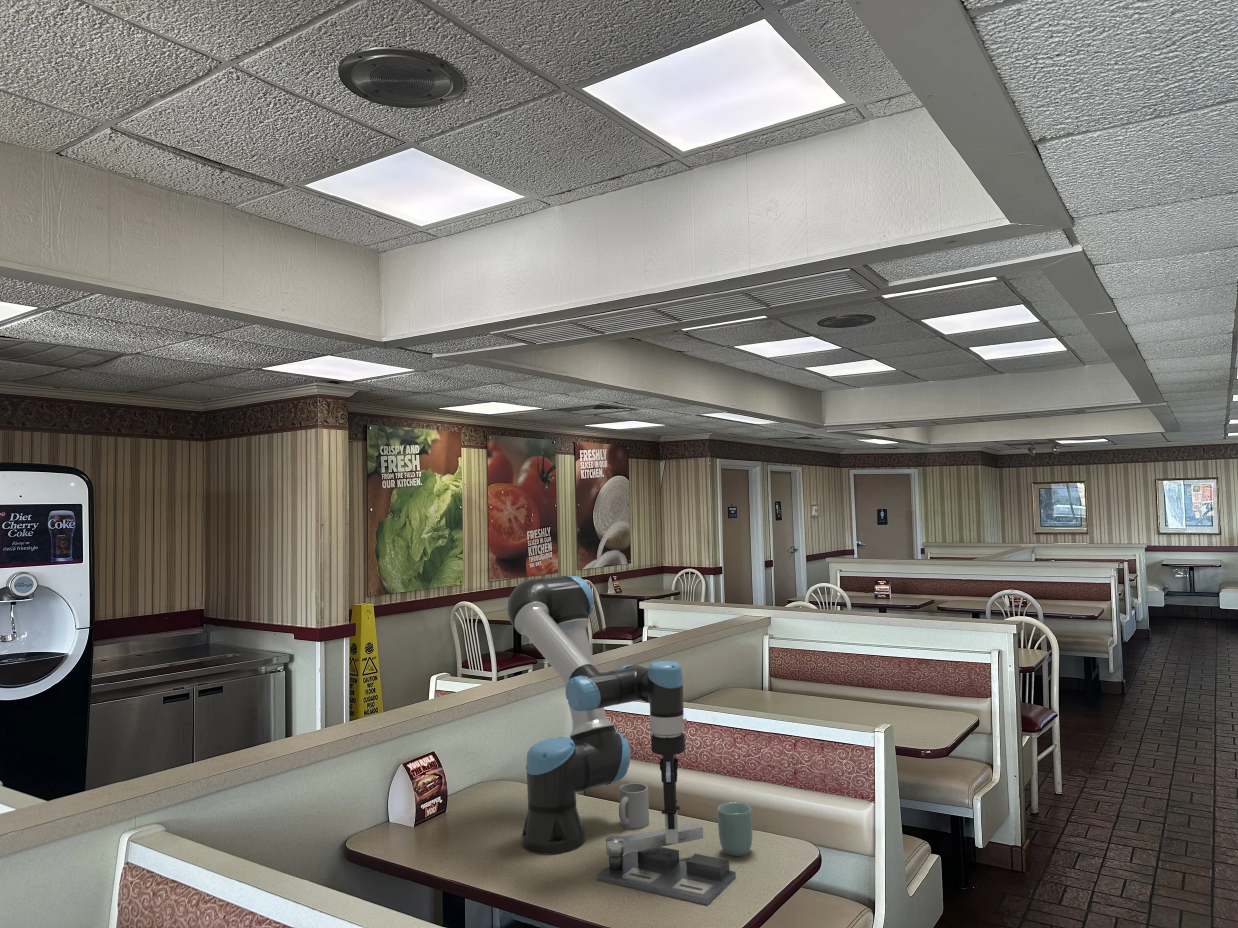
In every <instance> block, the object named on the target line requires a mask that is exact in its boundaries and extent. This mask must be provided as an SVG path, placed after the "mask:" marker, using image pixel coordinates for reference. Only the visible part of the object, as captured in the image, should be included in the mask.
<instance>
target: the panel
mask: <svg viewBox="0 0 1238 928" xmlns="http://www.w3.org/2000/svg"><path fill="white" fill-rule="evenodd" d="M608 862H609V865H608V866H607V867H605V868H604V869H602V870H601V871H600V872H599V873H597V881H600V882H605V883H609V884H612V885H613V884H614V885H616V886H617V885H618V886H623V887H626V888H631V889H635V890H640V891H642V892H643V891H644V892H648V893H653V894H656V895H661V896H666V897H670V898H674V899H678V900H679V899H680V900H683V901H686V902H687V901H688V902H691V903H696V904H701V905H704V906H705V905H706V906H708V905H710V904H711V903H712V902H713V901H714V900H715V899H716V898H717V897H718V896H719V895H720V894H721V893H722V892H723V891H724V890H725V889H726V888H727V887H728V886H729V885H730V884H731V883H732V882H733V881H734V880H735V879H736V878H737V876H736V875H737V873H736V871H734V870H731V869H730V860H728V859H725V858H724V859H723V858H719V857H714V856H709V855H704V854H700V853H694V854H693V855H692V856H691V857H689V859H687V860H686V861H685V860H680V850H677V849H674V848H670V847H669V848H667V847H665V846H662V847H657V848H652V849H647V850H641V851H636V852H631V853H626V854H623V855H620V856H609V855H608Z"/></svg>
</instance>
